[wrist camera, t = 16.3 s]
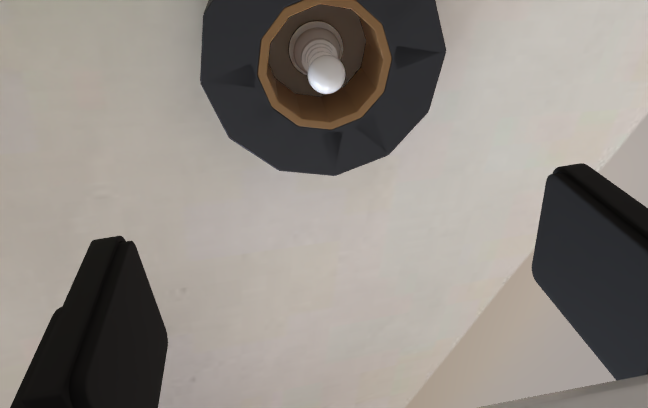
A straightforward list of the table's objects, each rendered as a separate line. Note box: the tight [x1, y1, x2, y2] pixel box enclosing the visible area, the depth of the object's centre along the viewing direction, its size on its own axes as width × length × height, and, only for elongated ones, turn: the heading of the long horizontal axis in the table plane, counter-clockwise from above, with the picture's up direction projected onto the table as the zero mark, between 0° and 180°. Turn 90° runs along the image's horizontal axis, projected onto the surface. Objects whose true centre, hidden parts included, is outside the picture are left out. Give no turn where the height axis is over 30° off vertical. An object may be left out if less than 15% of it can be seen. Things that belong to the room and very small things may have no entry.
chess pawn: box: [289, 21, 346, 94], centre depth 23 cm, size 3×3×5 cm
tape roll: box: [200, 0, 446, 176], centre depth 24 cm, size 11×11×4 cm
